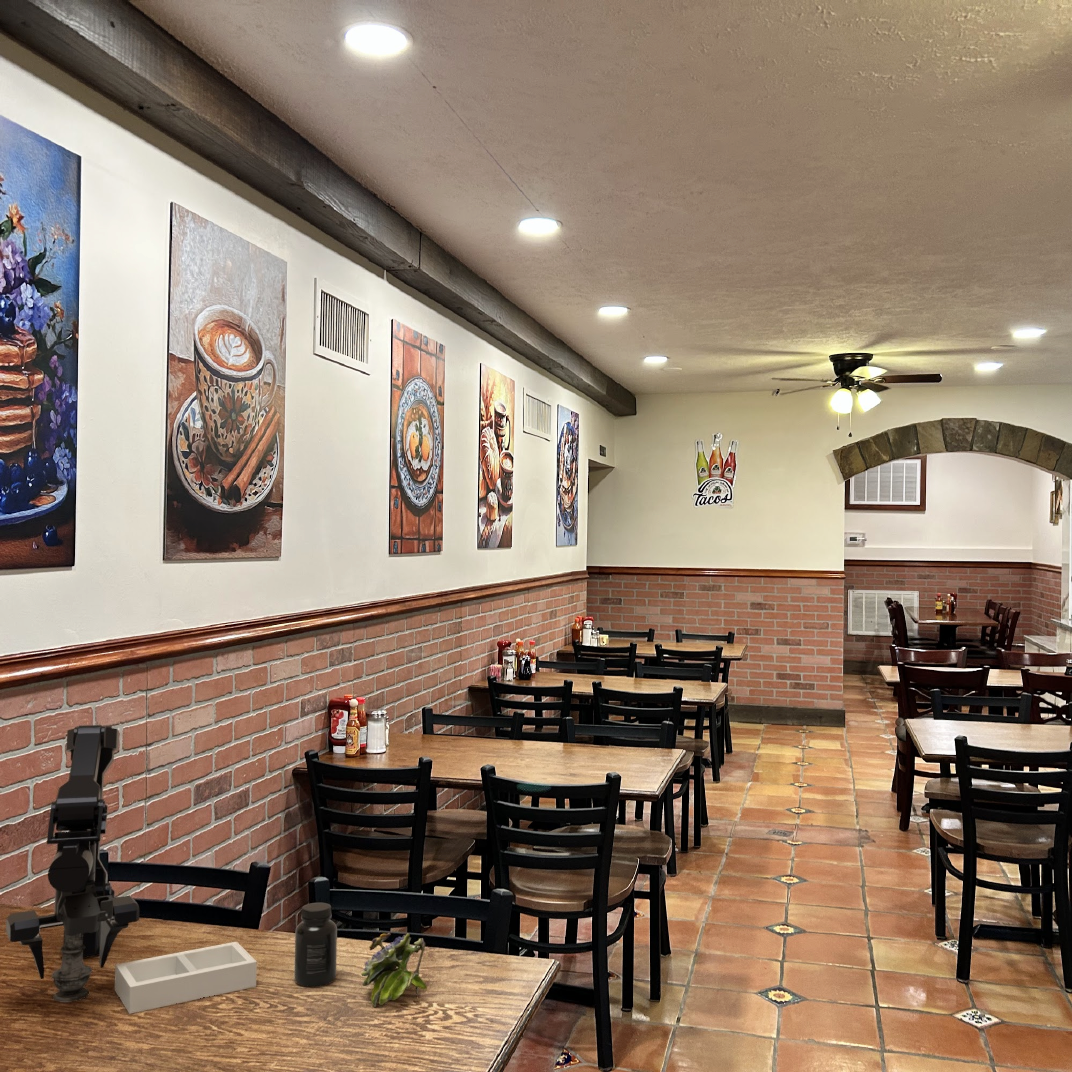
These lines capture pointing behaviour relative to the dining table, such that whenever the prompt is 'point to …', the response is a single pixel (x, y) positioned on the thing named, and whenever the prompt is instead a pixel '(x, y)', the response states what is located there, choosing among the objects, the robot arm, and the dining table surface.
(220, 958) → the condiment caddy
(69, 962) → the grey stone turned post
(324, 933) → the supplement bottle
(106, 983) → the dining table surface
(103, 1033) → the dining table surface
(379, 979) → the passion flower
